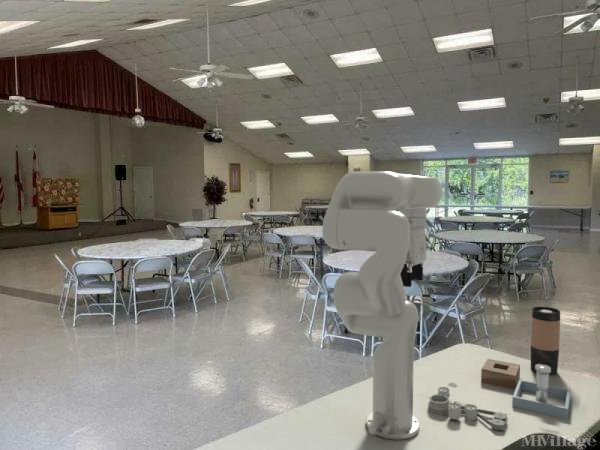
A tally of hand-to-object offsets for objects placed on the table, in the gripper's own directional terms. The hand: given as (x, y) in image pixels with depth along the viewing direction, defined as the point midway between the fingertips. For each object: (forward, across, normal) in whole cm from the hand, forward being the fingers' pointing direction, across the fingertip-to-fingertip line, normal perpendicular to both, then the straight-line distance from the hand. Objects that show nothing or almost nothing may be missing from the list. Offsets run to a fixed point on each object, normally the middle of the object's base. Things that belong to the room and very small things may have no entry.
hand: (411, 282), depth 131 cm
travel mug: (+31, +29, -32) cm, 53 cm away
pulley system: (+31, -7, -14) cm, 35 cm away
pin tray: (+30, +6, -34) cm, 46 cm away
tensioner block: (+30, +15, -22) cm, 40 cm away
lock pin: (+30, +6, -34) cm, 45 cm away
